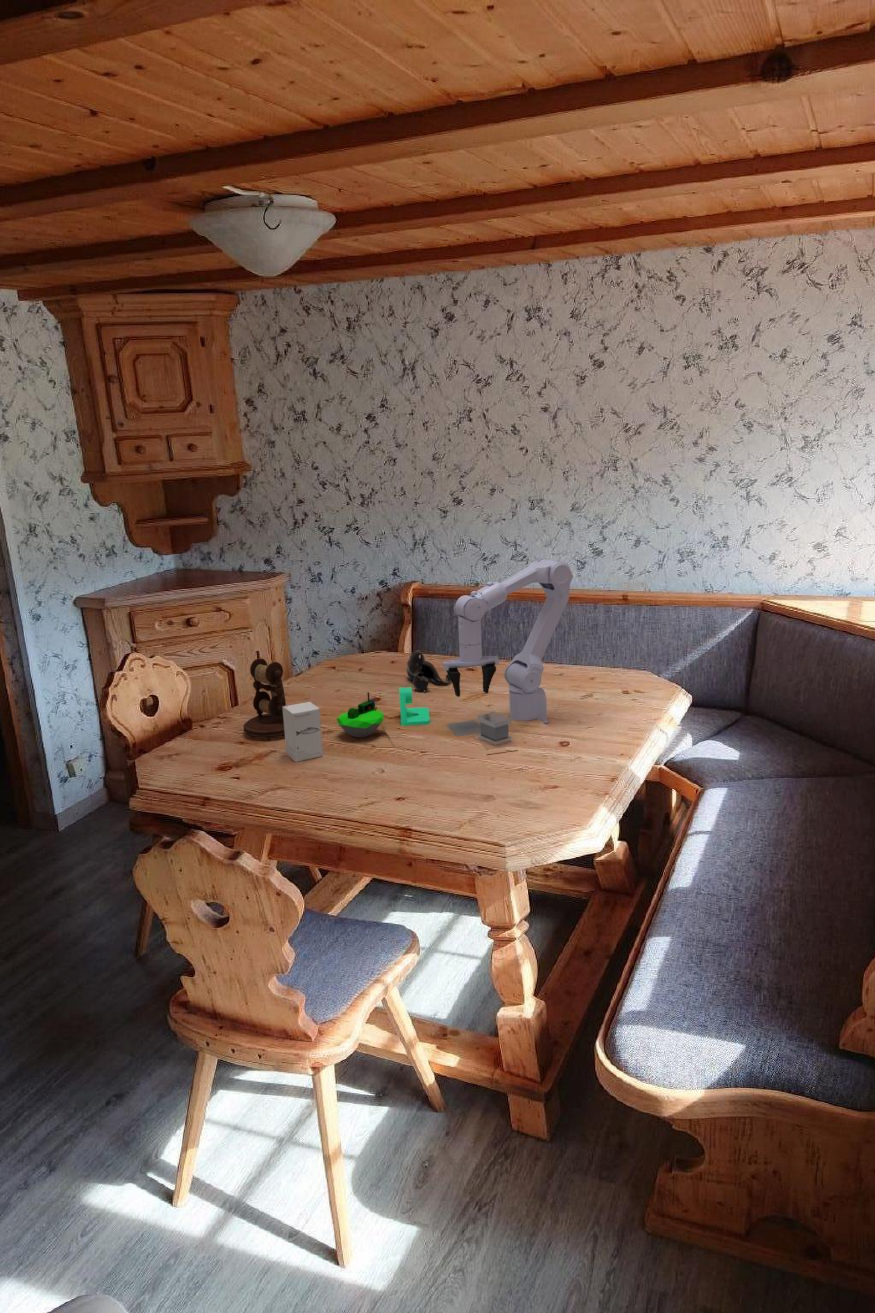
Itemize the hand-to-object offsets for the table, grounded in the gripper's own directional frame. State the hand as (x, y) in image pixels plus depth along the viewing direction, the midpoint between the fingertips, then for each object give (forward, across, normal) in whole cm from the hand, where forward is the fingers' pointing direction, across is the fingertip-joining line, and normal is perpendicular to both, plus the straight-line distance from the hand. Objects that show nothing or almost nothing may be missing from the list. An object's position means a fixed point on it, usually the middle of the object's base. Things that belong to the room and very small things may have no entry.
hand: (471, 694), depth 238 cm
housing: (+9, -2, +12) cm, 15 cm away
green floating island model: (+11, +28, -9) cm, 31 cm away
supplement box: (+11, +44, 0) cm, 45 cm away
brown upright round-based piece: (+11, +50, -21) cm, 55 cm away
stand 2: (+10, -2, +12) cm, 16 cm away
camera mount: (+11, +12, -13) cm, 21 cm away
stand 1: (+10, +2, 0) cm, 11 cm away
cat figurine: (+11, -2, -47) cm, 48 cm away
